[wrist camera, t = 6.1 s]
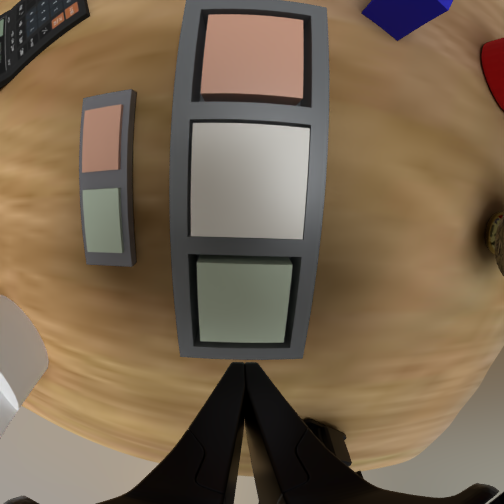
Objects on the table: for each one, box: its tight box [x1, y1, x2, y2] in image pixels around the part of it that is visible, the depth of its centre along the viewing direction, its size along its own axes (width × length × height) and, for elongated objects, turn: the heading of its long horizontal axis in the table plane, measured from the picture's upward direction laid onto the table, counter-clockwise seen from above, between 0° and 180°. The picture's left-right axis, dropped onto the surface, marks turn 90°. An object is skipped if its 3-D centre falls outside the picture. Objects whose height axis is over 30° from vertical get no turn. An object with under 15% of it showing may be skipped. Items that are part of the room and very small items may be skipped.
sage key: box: [197, 254, 292, 343], centre depth 14 cm, size 4×4×2 cm
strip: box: [79, 89, 136, 267], centre depth 13 cm, size 10×3×1 cm, turn 177°
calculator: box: [0, 0, 90, 88], centre depth 8 cm, size 9×12×3 cm
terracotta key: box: [201, 14, 303, 106], centre depth 11 cm, size 4×4×2 cm
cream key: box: [191, 123, 310, 240], centre depth 11 cm, size 4×4×2 cm
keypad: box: [169, 0, 329, 360], centre depth 13 cm, size 20×8×3 cm, turn 177°
